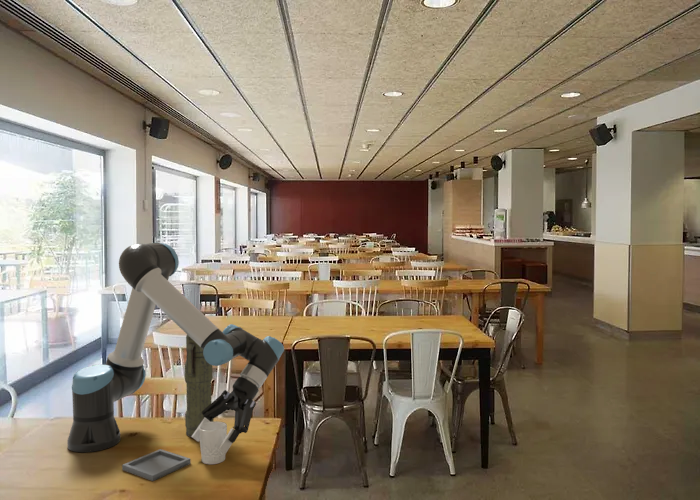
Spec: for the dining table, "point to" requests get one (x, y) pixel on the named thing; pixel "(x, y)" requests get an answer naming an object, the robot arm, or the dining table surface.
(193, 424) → the thermos
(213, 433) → the white cup
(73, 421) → the robot arm
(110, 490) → the dining table surface
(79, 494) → the dining table surface
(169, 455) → the charcoal tray
